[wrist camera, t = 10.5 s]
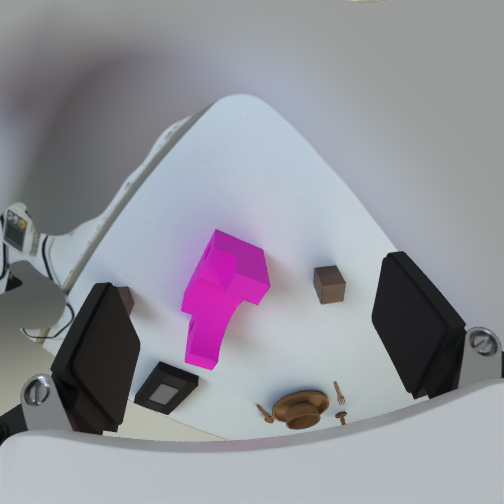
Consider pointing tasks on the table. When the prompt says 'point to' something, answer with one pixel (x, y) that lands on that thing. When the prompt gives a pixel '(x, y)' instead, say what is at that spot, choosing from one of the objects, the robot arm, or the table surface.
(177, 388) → the vhs tape
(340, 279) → the brown cubes
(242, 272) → the toy block
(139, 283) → the table surface
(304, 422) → the place setting
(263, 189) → the table surface
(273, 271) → the table surface
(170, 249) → the table surface
